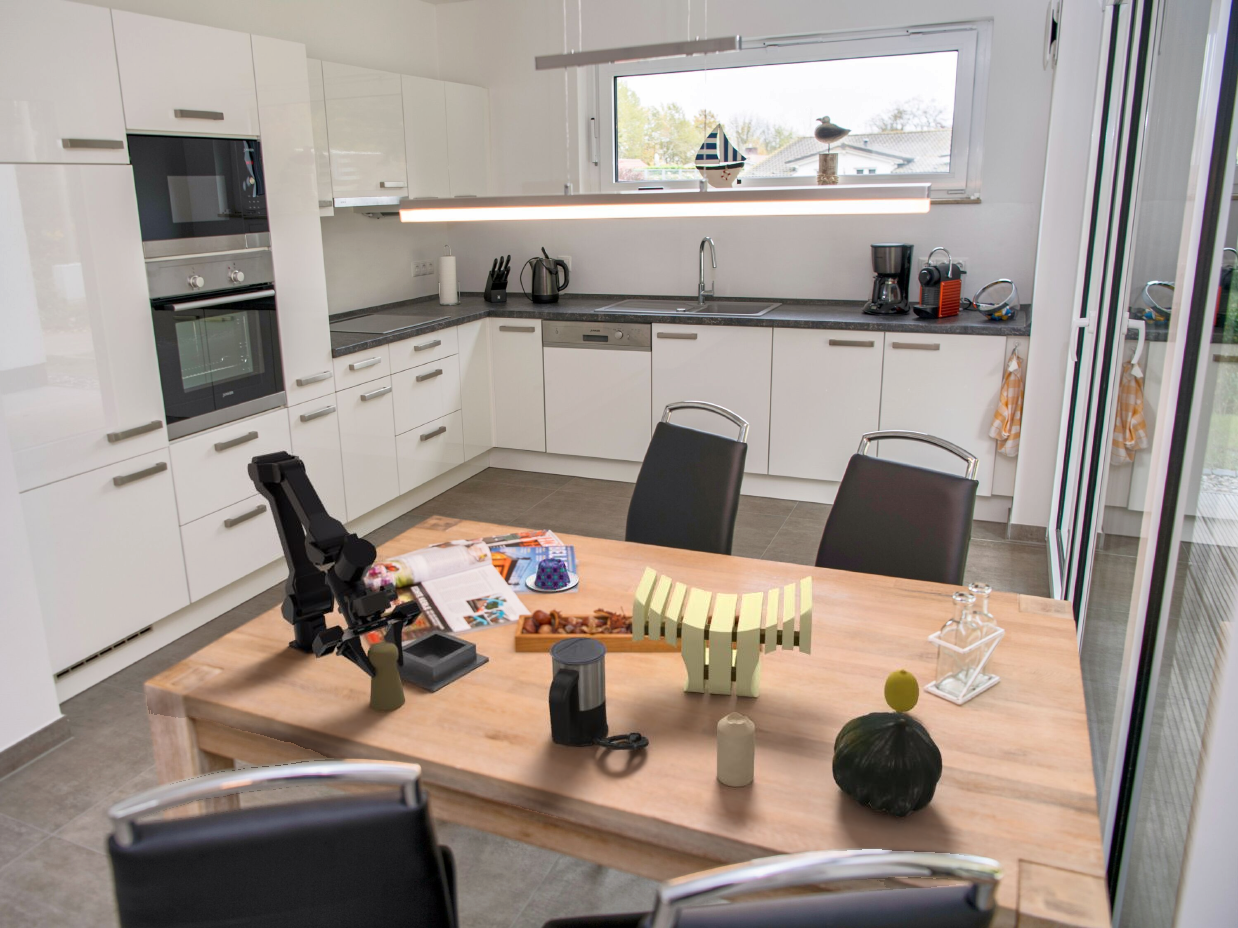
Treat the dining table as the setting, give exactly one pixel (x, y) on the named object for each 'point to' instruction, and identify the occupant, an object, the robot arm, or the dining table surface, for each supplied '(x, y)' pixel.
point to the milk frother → (582, 697)
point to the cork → (385, 678)
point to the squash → (887, 762)
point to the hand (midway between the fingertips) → (388, 671)
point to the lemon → (901, 691)
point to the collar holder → (438, 660)
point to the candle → (735, 750)
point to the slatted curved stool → (721, 631)
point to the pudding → (552, 576)
